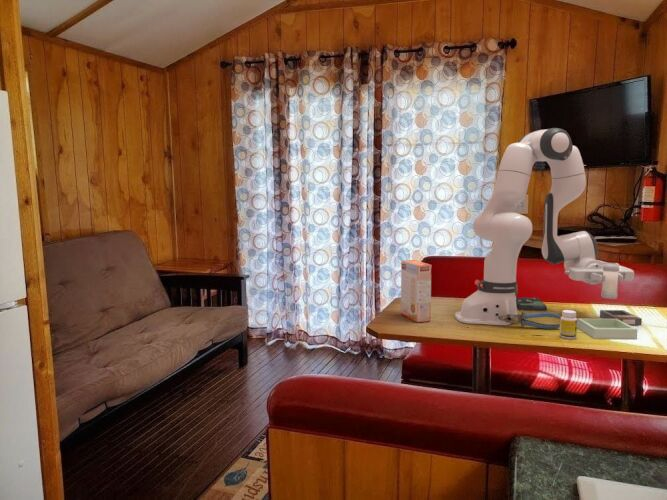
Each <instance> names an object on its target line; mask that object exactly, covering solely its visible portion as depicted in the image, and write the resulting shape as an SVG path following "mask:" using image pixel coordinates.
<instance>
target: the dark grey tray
mask: <svg viewBox="0 0 667 500" xmlns="http://www.w3.org/2000/svg"><path fill="white" fill-rule="evenodd" d="M599 318H600V319H618V320H620V321H622V322H624V323H626V324H628V325H630V326H632V327H634V325H641V326H642V323H643V321H642V320H643V319H642V317H640V316H637V315H635V314H634V313H633V314H632V313H631V312H629V311H627V310H624V309H600V310H599Z"/></svg>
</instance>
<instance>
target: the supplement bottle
mask: <svg viewBox="0 0 667 500" xmlns="http://www.w3.org/2000/svg"><path fill="white" fill-rule="evenodd" d="M559 324H560V327H559V329H560V330H559V336H560V338H563V339H567V340H568V339H569V340H575V339H576V338H577V329H578V328H577V311H575V310H570V309H564V310H561V318H560V323H559Z"/></svg>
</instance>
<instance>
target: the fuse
mask: <svg viewBox="0 0 667 500" xmlns="http://www.w3.org/2000/svg"><path fill="white" fill-rule="evenodd" d="M618 264H619V263H618ZM618 264H609V263H606V264H603V275H604V276H605V280H604V281H603V283H601V284H602V286H601V292H600V293H601V298H604V299H610V300H616V299H618V287H619V286H618V285H619V281H618V272H619V266H620V264H619V265H618Z"/></svg>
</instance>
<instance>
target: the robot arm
mask: <svg viewBox="0 0 667 500" xmlns="http://www.w3.org/2000/svg"><path fill="white" fill-rule="evenodd" d="M536 162H546V163H547V164H548V166H549V168H550V176H551V187H550V191H549V192H548V194H546V195H545V198H544V203H543V221H542V222H543V225H542V226H543V227H542V228H543V229H542V239H541V255H542V258H543V260H545V261H546V262H548V263H550V264H552V265H557V264H560V263H563V267H564V271H563V273H564V274H566V275H568V278H569V279H571V280H573V281H576V282H580V281H581V282H584V283H586V284H589V285H591V286H592V285H593V286H594V285H595V286H596V285H599V284H602V283H603V281H604V280H605V276H604V275H603V264H606V263H609V264H618V265H619V272H618V282H633V281H634V279H635V271H634V270H633V269H632V268H628V267H626V266H623V265H620V264H619V263H618V262H609V261H603V260H599V259H597V258H598V255H599V245H598V242H597V239H596V238H595V237H594V236H593V235H592V234H591V233H590V232H588V231H586V230H581V231H577V232H572V233H567V234H561V235H558V219H559V217H558V216H559V213H560V212H561V210H562V209H563V208H564V207H565V206H567V205H568V204H570V203H572V202H573V201H575V200H576V199H578V198H579V197H580V196H581V195H582V194H583V192H584V191H585V189H586V187H587V180H586V179H587V178H586V177H587V176H586V173H585V171H586V170H585V165H584V162H583V158H582V156H581V152H580V150H579V148H578V147H577V146H576V145H573V142H572V138H571V136H570V135H569V133H568V132H567V130H564V129H563V128H558V127H552V128H547V129H539V130H535V131H532V132H529V133H527V134H525V135H523V136H522V137H521V138H520V139H519V141H517V142H514V143H510V144H509V145H508V146H507V147H506V149H505V151H504V153H503V156H502V158H501V161H500V163H499V167H498V171H497V174H496V179H495V182H494V187H493V190H492V193H491V196H490V198H489V199H488V201H487V203H486V205H485V206H484V208H483V209H482V211H481V212H480V213H479V214H478V215H476V217H475V218H474V221H473V224H472V228H473V232H474V234H476V236H478V237H479V238H481V239H483V240H485V241H489V242H493V243H492V246H491V247H492V248H491V249H490V252H489V254H488V255H486V257H485V258H484V265H483V266H484V267H483V279H482V280H479V279H475V281H474V284H475V285H476V286H477V290H476V291H475V292H473V293H471V294H470V295H469V296H467V297H466V298H464V299H463V302H462V304H461V307H460V310H459V311H456V312H455V314H454V318H455V319H456V320H457V321H458V322H460V323H464V324H473V325H493V326H509V325H511V324H512V323H507V322H505V321H502V320H499V319H498V317H499V316H502V315H506V314H515V315H518V314H519V313H518V308H517V305H516V297H518V296H517V294H518V281H517V266H518V258H519V255H520V252H521V250H522V247H523V246H524V244H525V243H527V241H529V239H530V238H531V236H532V234H533V230H534V229H533V224H532V221H531V219H530V218H529V217H527V216H525V215H523V214H521V213H518V212H514V211H515V210H516V208H517V206H518V205H519V204H521V203H522V202H523V201H524V200H525V199H526V196H527V193H528V188H529V185H530V184H529V183H530V180H531V175H532V171H533V166H534V165H535V163H536ZM503 319H505V318H503Z"/></svg>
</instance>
